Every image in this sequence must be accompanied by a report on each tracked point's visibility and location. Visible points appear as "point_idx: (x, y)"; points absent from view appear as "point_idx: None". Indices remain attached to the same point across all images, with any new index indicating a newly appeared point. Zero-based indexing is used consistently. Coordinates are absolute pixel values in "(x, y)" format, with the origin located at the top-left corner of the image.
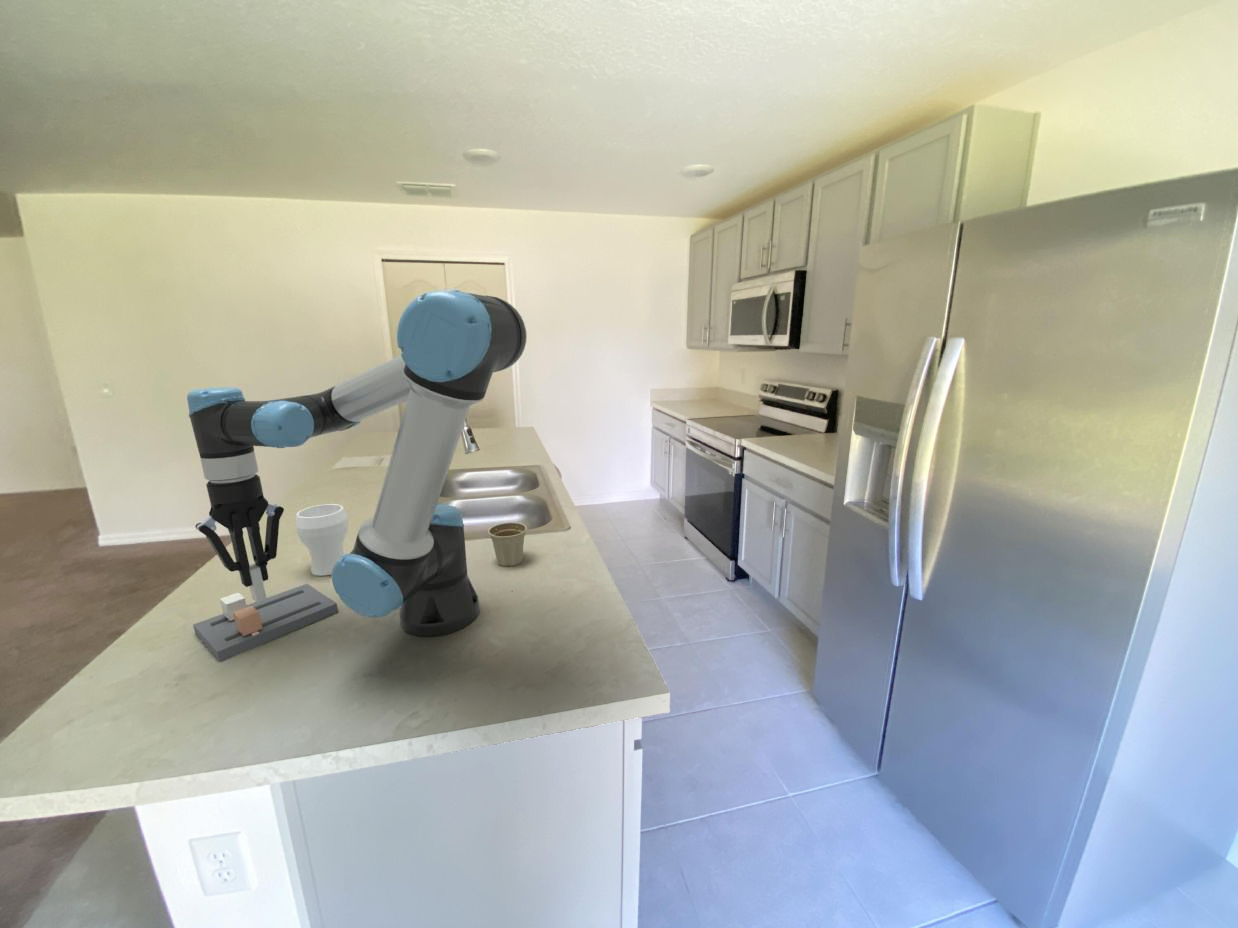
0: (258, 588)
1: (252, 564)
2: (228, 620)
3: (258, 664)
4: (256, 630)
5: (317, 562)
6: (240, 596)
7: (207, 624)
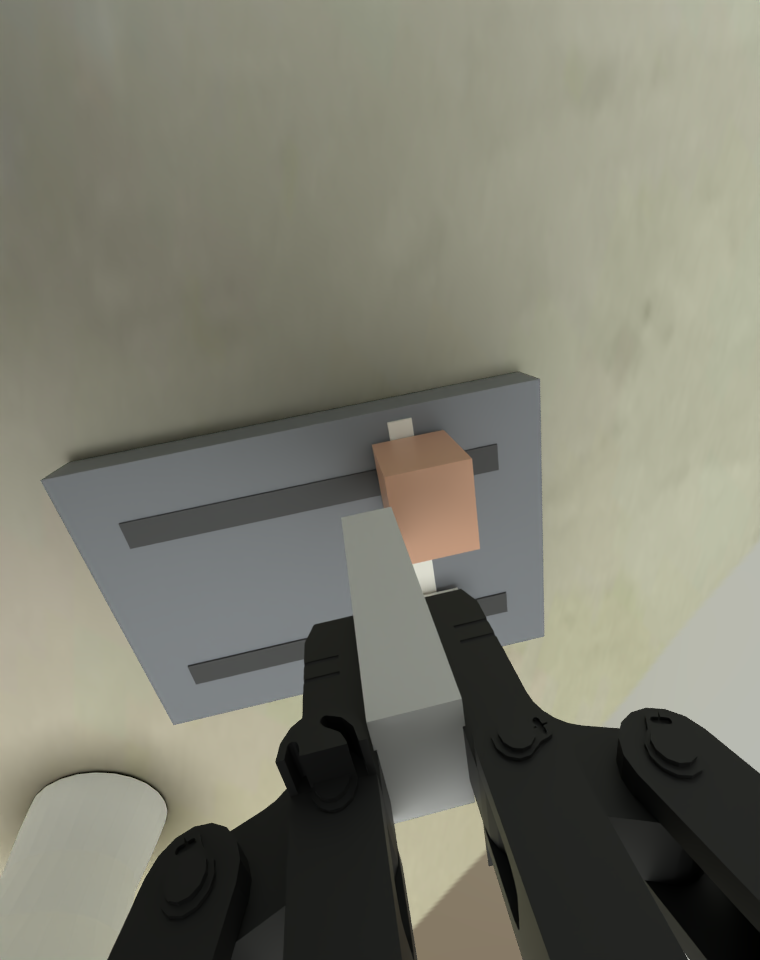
0: (384, 562)
1: (412, 812)
2: None
3: (418, 228)
4: (395, 441)
5: (116, 846)
6: None
7: (512, 611)
